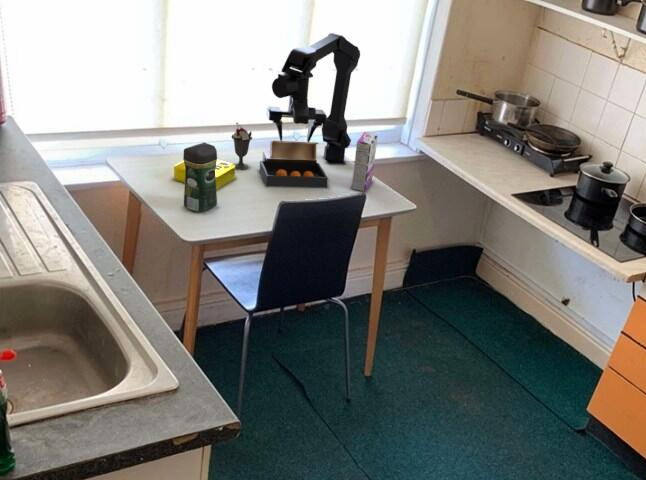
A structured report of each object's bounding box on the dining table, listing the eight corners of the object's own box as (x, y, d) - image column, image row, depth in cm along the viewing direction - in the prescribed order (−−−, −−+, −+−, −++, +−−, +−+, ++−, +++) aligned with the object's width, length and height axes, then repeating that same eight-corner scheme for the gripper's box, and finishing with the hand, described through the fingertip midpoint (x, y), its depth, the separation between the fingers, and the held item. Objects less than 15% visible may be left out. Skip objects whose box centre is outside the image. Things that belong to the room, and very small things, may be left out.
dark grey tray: (317, 172, 263) (318, 162, 261) (326, 187, 253) (327, 177, 251) (259, 170, 256) (260, 160, 254) (266, 186, 246) (267, 175, 244)
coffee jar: (200, 198, 231) (200, 138, 220) (221, 206, 229) (222, 145, 218) (178, 207, 224) (178, 145, 213) (199, 215, 221) (200, 153, 211)
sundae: (226, 167, 255) (228, 122, 246) (237, 161, 260) (239, 117, 251) (243, 172, 253) (246, 127, 244) (254, 166, 258) (256, 122, 250)
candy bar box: (358, 178, 264) (364, 131, 255) (372, 181, 264) (378, 134, 254) (350, 189, 255) (356, 140, 245) (364, 192, 254) (371, 144, 245)
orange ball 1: (286, 182, 251) (285, 174, 253) (288, 175, 249) (286, 167, 250) (276, 182, 250) (274, 174, 252) (277, 174, 247) (276, 166, 249)
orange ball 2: (299, 183, 253) (299, 173, 253) (302, 180, 250) (301, 169, 250) (289, 183, 252) (288, 172, 252) (291, 180, 249) (291, 169, 249)
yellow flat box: (196, 166, 251) (196, 151, 249) (237, 177, 248) (237, 163, 246) (171, 179, 239) (171, 164, 237) (213, 191, 237) (214, 177, 234)
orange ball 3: (312, 183, 254) (311, 173, 255) (315, 179, 251) (314, 169, 252) (302, 183, 253) (301, 173, 254) (304, 179, 250) (303, 169, 250)
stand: (310, 168, 265) (312, 152, 262) (315, 176, 260) (316, 160, 257) (262, 166, 260) (263, 150, 256) (265, 174, 254) (266, 158, 251)
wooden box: (314, 142, 255) (318, 142, 250) (314, 159, 256) (318, 160, 251) (269, 140, 250) (273, 140, 245) (269, 158, 251) (273, 158, 246)
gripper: (273, 99, 231) (270, 149, 240) (333, 102, 237) (327, 151, 246) (267, 87, 240) (264, 136, 249) (325, 91, 246) (320, 139, 255)
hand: (294, 141), depth 249 cm, fingers open, 9 cm apart
